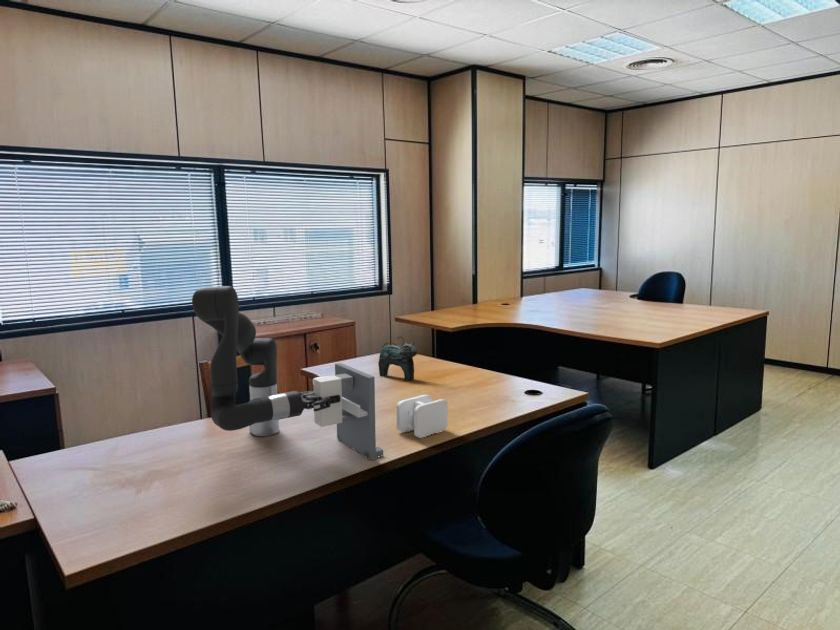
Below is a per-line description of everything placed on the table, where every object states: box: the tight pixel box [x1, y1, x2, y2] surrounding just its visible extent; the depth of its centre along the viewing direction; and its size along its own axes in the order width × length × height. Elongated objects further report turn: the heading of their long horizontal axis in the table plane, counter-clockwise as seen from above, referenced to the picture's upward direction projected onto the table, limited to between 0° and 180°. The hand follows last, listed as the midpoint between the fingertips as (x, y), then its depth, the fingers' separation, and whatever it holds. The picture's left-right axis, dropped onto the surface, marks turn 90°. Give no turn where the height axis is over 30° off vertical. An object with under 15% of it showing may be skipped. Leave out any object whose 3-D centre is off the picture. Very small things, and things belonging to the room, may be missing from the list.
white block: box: [312, 374, 354, 428], centre depth 178 cm, size 5×11×14 cm, turn 125°
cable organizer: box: [396, 394, 449, 439], centre depth 198 cm, size 15×11×12 cm
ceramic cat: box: [378, 336, 418, 382], centre depth 268 cm, size 20×6×20 cm, turn 58°
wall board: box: [334, 362, 384, 460], centre depth 183 cm, size 22×8×26 cm, turn 35°
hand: (335, 396), depth 178 cm, fingers closed on white block, 5 cm apart
